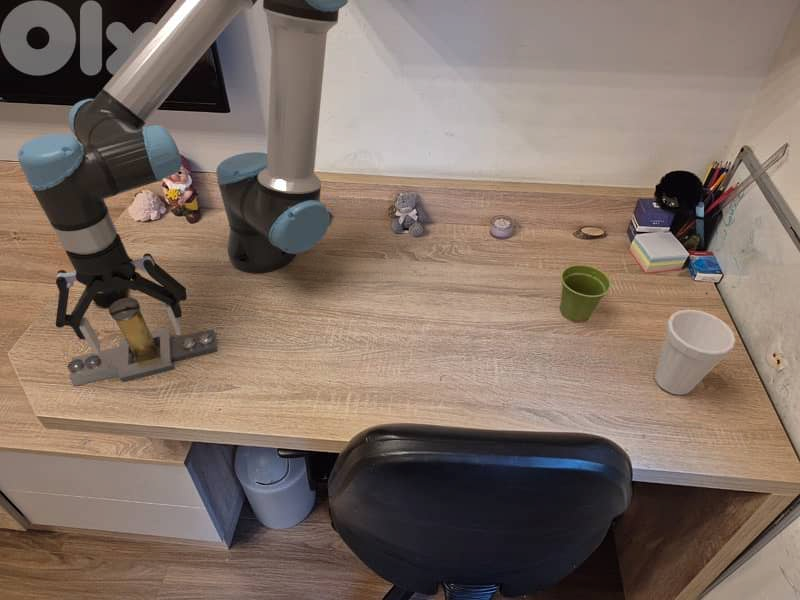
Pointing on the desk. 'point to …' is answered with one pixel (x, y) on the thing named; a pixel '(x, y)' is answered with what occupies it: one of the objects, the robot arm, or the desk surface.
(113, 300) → the tape measure
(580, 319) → the plant pot
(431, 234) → the desk surface
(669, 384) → the cup
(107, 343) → the desk surface
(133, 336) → the link pin
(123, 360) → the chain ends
